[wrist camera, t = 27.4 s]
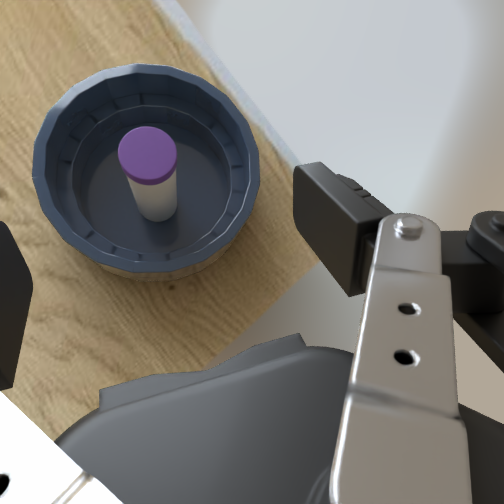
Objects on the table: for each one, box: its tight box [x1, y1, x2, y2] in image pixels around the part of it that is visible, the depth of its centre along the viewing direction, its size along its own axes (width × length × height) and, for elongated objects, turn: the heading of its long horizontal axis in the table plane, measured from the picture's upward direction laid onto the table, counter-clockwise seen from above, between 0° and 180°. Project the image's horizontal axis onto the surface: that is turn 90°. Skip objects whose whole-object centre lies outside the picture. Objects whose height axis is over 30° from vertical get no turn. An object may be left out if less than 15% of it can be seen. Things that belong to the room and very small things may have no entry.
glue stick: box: [118, 127, 177, 222], centre depth 28 cm, size 3×3×10 cm
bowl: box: [32, 63, 260, 282], centre depth 31 cm, size 16×16×6 cm
